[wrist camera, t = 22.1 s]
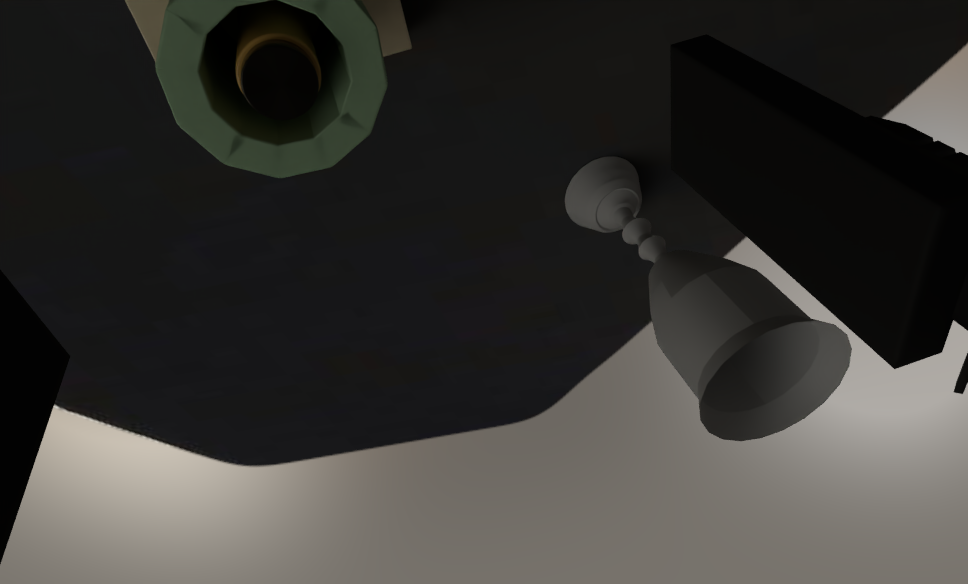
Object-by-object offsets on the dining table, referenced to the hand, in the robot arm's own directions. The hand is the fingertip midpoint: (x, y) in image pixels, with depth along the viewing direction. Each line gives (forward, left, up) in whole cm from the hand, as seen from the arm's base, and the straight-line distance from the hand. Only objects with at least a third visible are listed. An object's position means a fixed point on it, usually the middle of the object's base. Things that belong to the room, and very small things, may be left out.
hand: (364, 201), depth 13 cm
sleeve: (+1, -1, -20) cm, 20 cm away
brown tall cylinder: (+1, -1, -23) cm, 23 cm away
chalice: (+6, +21, -23) cm, 32 cm away
